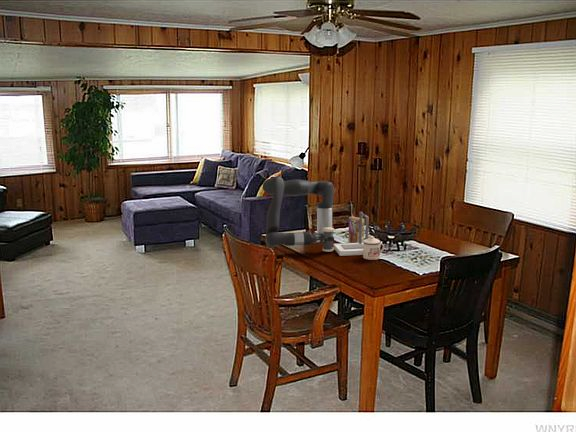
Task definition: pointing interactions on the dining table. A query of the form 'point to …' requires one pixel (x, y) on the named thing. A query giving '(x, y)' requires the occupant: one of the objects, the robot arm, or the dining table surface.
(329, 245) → the cord spool
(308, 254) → the dining table surface
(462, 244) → the dining table surface
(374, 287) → the dining table surface
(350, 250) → the white stand with posts
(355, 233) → the candy box
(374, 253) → the teacup with lid
